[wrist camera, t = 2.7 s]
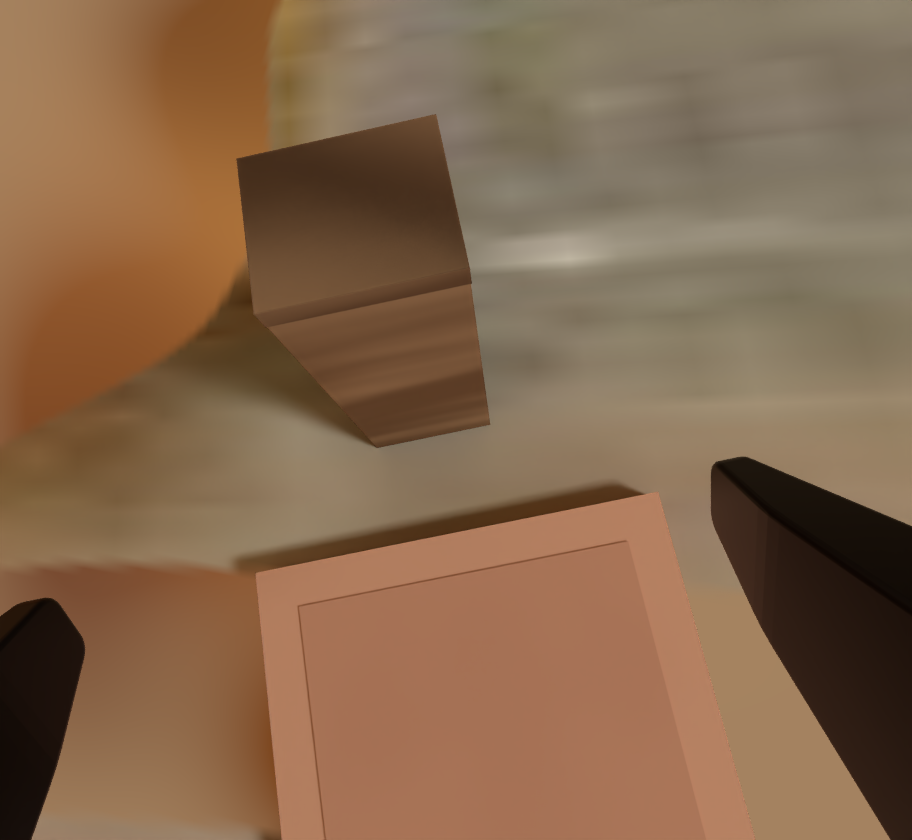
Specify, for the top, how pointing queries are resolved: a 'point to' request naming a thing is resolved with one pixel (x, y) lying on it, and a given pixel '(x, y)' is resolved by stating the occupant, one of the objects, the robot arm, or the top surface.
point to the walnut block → (369, 276)
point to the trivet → (498, 688)
